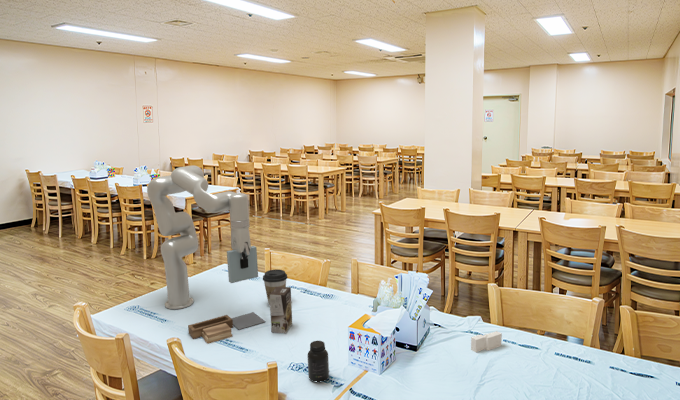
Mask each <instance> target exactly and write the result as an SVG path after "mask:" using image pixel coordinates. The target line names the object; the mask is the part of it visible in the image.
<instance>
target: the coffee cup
mask: <svg viewBox="0 0 680 400" xmlns="http://www.w3.org/2000/svg"><path fill="white" fill-rule="evenodd" d="M287 279H288V274H287V273H286V271H285V270H282V269H278V268H277V269H270V270H267V271H265V272H264V274H263V276H262V281H263V282H264V283H263V284H264V288H265V292H266V298H267V303H268V305H269V306H270V294H271V292H272V291H273V290H274V289H275V288H276V287H287Z"/></svg>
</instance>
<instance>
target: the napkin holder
mask: <svg viewBox="0 0 680 400" xmlns="http://www.w3.org/2000/svg"><path fill="white" fill-rule="evenodd" d="M502 336H503V335H502V333H501V332H499V331H498V330H496V331H492V332H490V333H487V334H486V333H485V334H478V335H474V336H472V337H471V339H470V341H471V343H470V350H471V351H472V352H474V353H478V351H479V352H481V350H482V351H484V350H486V352H487V351H490V350H493V349H497V348H498V347H499V348H500V347H502Z"/></svg>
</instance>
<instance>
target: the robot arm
mask: <svg viewBox="0 0 680 400" xmlns="http://www.w3.org/2000/svg"><path fill="white" fill-rule="evenodd" d="M208 189H209V181H208V180H207V179H206V178H205V174H204V170H203V169H202V168H201V167H199V166H198V165H193V164H192V165H187V166H179V167H176V168H175V169H173V170H172V171H171V173H170V174H169V175H162V176H159V177H156V178H153V179H152V180H150V181H149V183H148V185H147V188H146V193H147V198H148V200H149V201H150V204H151V206H152V208H153V211H154V216H155V220H156V223H157V227H158V230H159V233H160V234H161V236H163V237H169V236H170V237H171V236H174V235H177V234H179V236H175V237H171V238H169V239H167V240H165V241H164V242H163V243H162V244H161V246H160V253H161V257H162V260H163V263H164V264H163V265H164V271H165V281H166V290H167V291H166V292H167V293H166V294H167V300H166V302H164V306H165V308H166V309H167V310H168V309H169V310H180V309H185V308H188V307H190V306H192V305H193V304H194V299H193V298H192V297H190V288H189V287H190V286H189V273H188V266H187V264H186V262H185V261H184V259H183V258H184V257H186V256H188V255H192V254H194V253H196V252H197V251H198V249H199V240H198V236H197V232H196V228H195V224H194V223H195V222H194V220H193V218H192V216H191V215H190V214H189V213H188V212H186V211H177V212H176V211H175V206H174V203H173V202H172V200H171V199H170V198H168V197H167V196H170V195H175V194H180V193H185V192H187V193H189V194H190V195H192V196H193V199H194V202H195V204H196V205H197V206H198V207H200V208H201V209H203V210H205V211H206V212H209V213H211V214H217V213H221V212H224V211H228V210H229V220H230V222H229V223H230V246H231V247H230V248H231V250H236V251H237V252H238V253H240V254H241V259H240V266H241V269H244V268H248V256H249V255H250V253H249V251H250V250H251V246H252V245H251V244H252V243H251V242H252V241H251V236H250V235H251V233H250V229H249V228H250V224H251V223H250V210H249V197H248V195H247V194H246V193H243V192H235V191H230V190H229V191H227V190H226V191H223V192H218V193H213V194H211V193H209V192H207V191H208ZM244 250H245V251H244ZM243 253H245V254H243Z"/></svg>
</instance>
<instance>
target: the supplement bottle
mask: <svg viewBox="0 0 680 400" xmlns="http://www.w3.org/2000/svg"><path fill="white" fill-rule="evenodd" d="M329 365H330V363H329V352H328V350H326V344H325V342H324V341H322V340H313V341H311V342H310V344H309V350H308V352H307V375H308V379H309V378H310V379H311V380H313V381H317V382H319V383H321V382H320V381H324V380H326V379H327V378H328V379H329V377H330V367H329ZM310 379H309V380H310ZM328 379H327V380H328ZM311 380H310V381H311ZM327 380H326V381H327ZM313 381H312V382H313ZM317 382H316V383H317ZM324 382H325V381H324Z"/></svg>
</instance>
